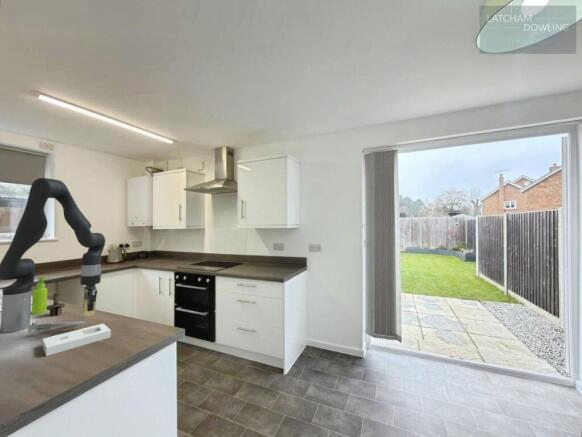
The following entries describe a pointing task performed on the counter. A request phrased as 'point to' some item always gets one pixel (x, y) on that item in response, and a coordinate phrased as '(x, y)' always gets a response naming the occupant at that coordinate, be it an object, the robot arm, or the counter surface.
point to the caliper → (50, 326)
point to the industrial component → (55, 306)
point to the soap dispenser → (40, 297)
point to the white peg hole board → (75, 339)
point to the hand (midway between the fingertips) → (89, 309)
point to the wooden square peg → (85, 304)
